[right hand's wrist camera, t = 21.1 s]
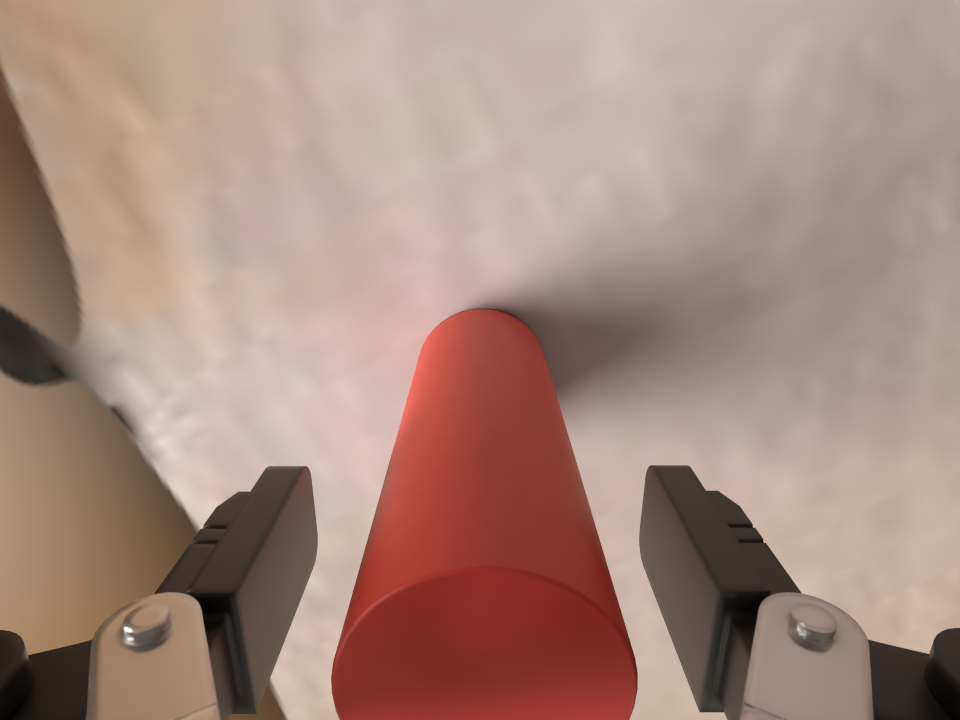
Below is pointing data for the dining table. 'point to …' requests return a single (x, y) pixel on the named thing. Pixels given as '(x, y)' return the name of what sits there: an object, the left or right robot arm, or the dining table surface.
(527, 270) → the dining table surface
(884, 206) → the dining table surface
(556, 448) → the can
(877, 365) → the dining table surface
